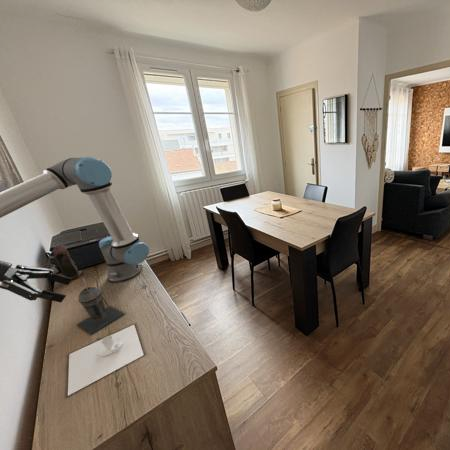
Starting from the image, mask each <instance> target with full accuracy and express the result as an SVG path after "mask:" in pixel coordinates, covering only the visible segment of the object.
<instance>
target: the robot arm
mask: <svg viewBox="0 0 450 450" xmlns="http://www.w3.org/2000/svg"><path fill="white" fill-rule="evenodd" d="M112 177H113V173H112V170H111V167H110V166H109V165H108V164H107V163H106V162H105V161H103V160H101V159H99V158H95V157H92V156H91V157H90V156H81V157H69V158H66V159H64V160H62V161H59V162H57V163H56V164H53V165H52V166H49V167H48V168H45V169H43V170H42V173H41V174H38V175H36V176H34V177H32V178H29V179H27V180H25V181H23V182H21V183H18V184H16V185H14V186H12V187H9V188H7V189H4V190H3V191H1V192H0V219H2V218H4V217H5V216H7V215H9V214H12V213H13V212H16V211H17V210H19V209H22V208H23V207H25V206H27V205H30V204H31V203H33V202H35V201H37V200H39V199H41V198H43V197H45V196H47V195H49V194H52V193H53V192H55V191H57V190H65V189H67V188H70V187H72V186H75V185H76V186H77V188H78V189H79V191H80V192H81V193H82V194H84V195H86V196H88V198H89V200H90V201H91V203H92V206H93V207H94V208H95V211H96V212H97V214H98V216H99V218H100V220H101V221H102V222H103V225H104V227H105V228H106V230H107V232H108V234H109V235H110V236H107V237H105V238H102V239H100V240H99V241H98V247H99V249H100V252H101V254H102V257H103V258H104V261H105V263H106V265H107V279H108V281H109V282H111V283H118V282H124V281H126V280H130V279H132V278H134V277H136V276H137V275H139V273H140V272H141V271H142V268H141V267H142V266H143V265H142V263H144V261H146V259H147V258H148V256H149V255H150V248H149V245H148V244H147V243H145V242H142V240H141V238H140V236H139V234H137V233H135V232H133V230H132V228H131V226H130V224H129V223H128V221H127V219H126V217H125V215H124V213H123V210H122V209H121V207H120V205H119V203H118V200H117V199H116V197H115V195H114V193H113V192H112V187H113V181H111V180H112ZM12 266H13V263H11V262H7V261H4V260H0V289H2V290H6V291H9V292H11V293H13V294H15V295H18V296H19V297H21V298H25V300H28V301H36V300H37V299H43V300H47V301H52V302H57V303H62V302H63V301H64V299H65V298H66V297H67V294H63V293H59V292H56V291H50V290H45V289H43V290H41V289H40V288H38V287H36V286H35V285H34V284H32V283H30V282H29V281H28V280H30V279H31V280H32V279H33V280H34V279H36V280H37V279H47V280H48V281H51V282H55V283H59V284H63V285H66V286H68V285H69V284H70V283H71V282H72V280H74V279H73V278H69V277H65V276H64V275H61V274H57V273H54V270H53V269H51V268H45V267H36V266H27V265H22V264H16V266H15V267H12Z"/></svg>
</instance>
